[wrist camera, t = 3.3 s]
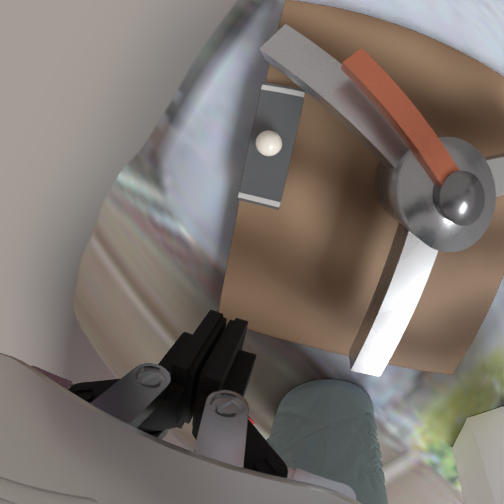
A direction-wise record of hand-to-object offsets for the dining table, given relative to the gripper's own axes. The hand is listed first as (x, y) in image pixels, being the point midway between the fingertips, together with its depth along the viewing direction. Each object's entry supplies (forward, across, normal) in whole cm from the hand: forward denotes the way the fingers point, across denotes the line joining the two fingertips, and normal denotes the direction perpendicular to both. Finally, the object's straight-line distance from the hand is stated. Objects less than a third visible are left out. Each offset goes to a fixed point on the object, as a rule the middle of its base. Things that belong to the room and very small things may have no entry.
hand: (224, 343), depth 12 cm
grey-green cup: (+9, -8, +11) cm, 17 cm away
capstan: (+6, -8, -6) cm, 12 cm away
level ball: (+6, +1, -9) cm, 11 cm away
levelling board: (+8, -8, -8) cm, 13 cm away
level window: (+7, +1, -9) cm, 11 cm away
